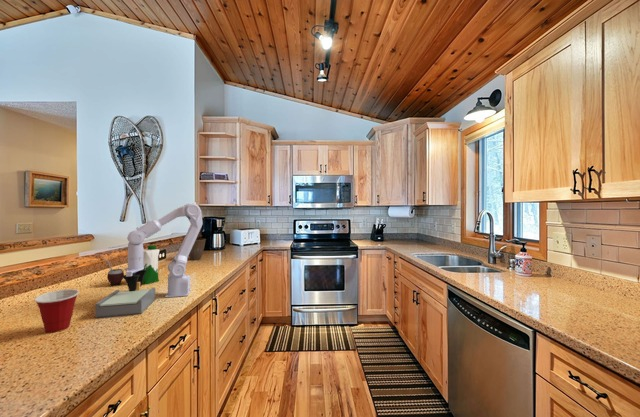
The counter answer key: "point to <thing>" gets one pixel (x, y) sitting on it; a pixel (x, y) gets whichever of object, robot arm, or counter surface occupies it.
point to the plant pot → (197, 249)
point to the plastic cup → (57, 309)
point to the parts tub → (124, 306)
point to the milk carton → (151, 264)
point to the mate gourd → (115, 276)
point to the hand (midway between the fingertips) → (135, 288)
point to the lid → (126, 297)
